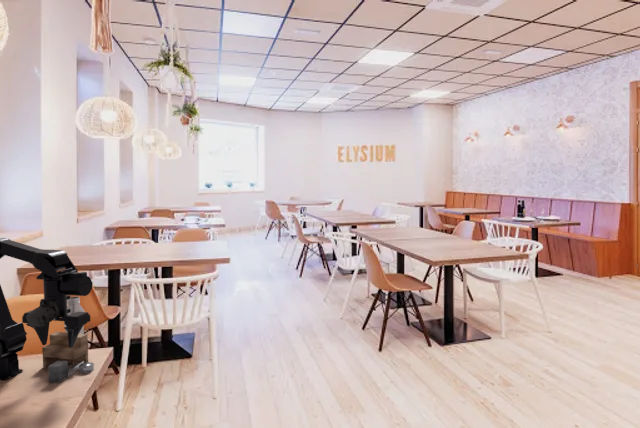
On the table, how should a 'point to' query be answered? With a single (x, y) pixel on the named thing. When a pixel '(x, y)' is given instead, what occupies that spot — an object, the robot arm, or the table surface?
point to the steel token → (86, 367)
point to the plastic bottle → (74, 309)
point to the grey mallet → (61, 370)
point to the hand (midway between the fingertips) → (57, 345)
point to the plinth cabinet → (65, 349)
